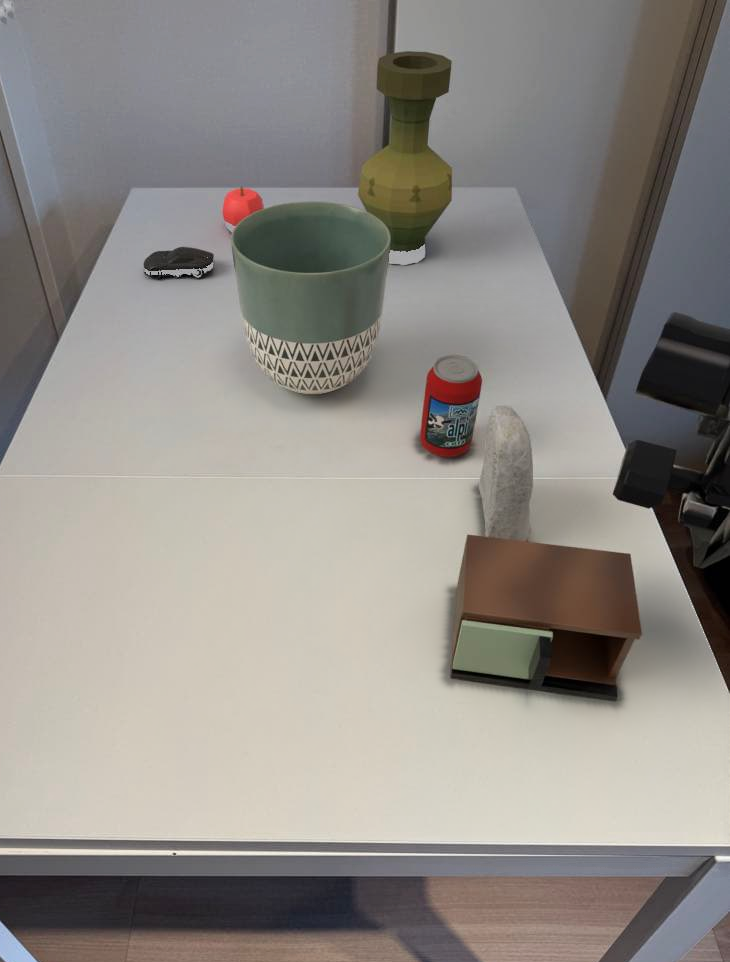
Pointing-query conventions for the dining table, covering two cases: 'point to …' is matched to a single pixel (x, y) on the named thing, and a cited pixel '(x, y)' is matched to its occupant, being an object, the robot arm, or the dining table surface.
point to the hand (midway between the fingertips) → (698, 563)
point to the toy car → (177, 260)
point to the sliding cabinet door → (504, 651)
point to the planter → (311, 291)
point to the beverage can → (450, 405)
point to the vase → (408, 151)
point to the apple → (241, 205)
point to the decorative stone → (506, 476)
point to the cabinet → (553, 609)
